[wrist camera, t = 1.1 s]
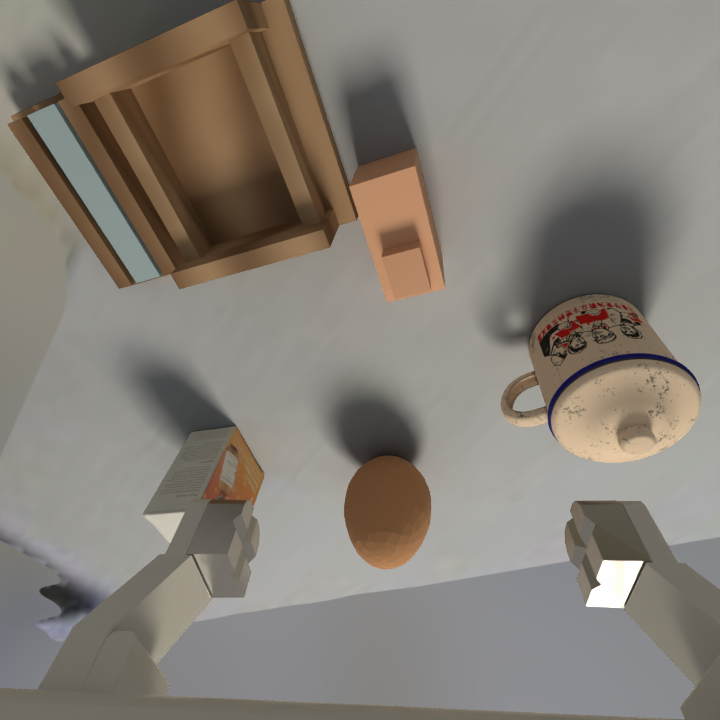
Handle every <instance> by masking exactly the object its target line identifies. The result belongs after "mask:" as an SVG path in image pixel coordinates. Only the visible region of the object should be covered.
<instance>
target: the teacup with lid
mask: <svg viewBox="0 0 720 720" xmlns="http://www.w3.org/2000/svg"><path fill="white" fill-rule="evenodd" d="M529 353H530V358H531V361H532V364H533V367H534V371H533V372H530V373H527V374H525V375H522V376H520V377H518V378H517V379H515V380H514V381H513V382H511V383H510V384H509V385H508V387H507V388H506V389H505V391H504V393H503V395H502V399H501V409H502V412H503V414H504V416H505V418H506V419H507V420H508V421H509V422H510V423H512V424H514V425H517V426H523V427H529V426H535V425H539V424H543V423H546V422H548V425H549V428H550V430H551V432H552V434H553V436H554V437H555V438H556V440H557V441H558V442H559V443H560V444H561V445H562V446H563V447H564V448H566V449H567V450H569V451H570V452H572V453H573V454H575V455H577V456H580V457H582V458H585V459H588V460H592V461H598V462H609V463H616V462H627V461H633V460H638V459H642V458H645V457H648V456H651V455H654V454H656V453H658V452H661V451H663V450H664V449H666V448H668V447H670V446H671V445H673V444H674V443H676V442H677V441H678V440H680V439H681V438H682V437H683V436H684V435H685V434H686V433H687V432H688V431H689V430H690V428H691V427H692V426H693V424H694V423H695V421H696V419H697V417H698V414H699V411H700V406H701V394H700V388H699V384H698V382H697V380H696V378H695V377H694V375H693V374H692V373H691V372H690V370H689V369H687V368H686V367H685V366H684V365H682V364H681V363H679V362H677V360H676V359H675V358H674V356H673V355H672V354H671V352H670V351H669V350H668V348H667V347H666V346H665V345H664V343H663V342H662V341H661V339H660V338H659V337H658V335H657V334H656V333H655V331H654V330H653V329H652V328H651V326H650V325H649V324H648V322H647V321H646V320H645V318H644V317H643V316H642V314H641V313H640V312H639V311H638V310H637V308H635V307H634V306H633V305H632V304H631V303H629V302H627V301H626V300H624V299H621V298H619V297H615V296H610V295H603V294H594V295H585V296H580V297H577V298H573V299H571V300H568V301H566V302H564V303H562V304H560V305H558V306H556V307H555V308H553V309H552V310H551V311H549V312H548V313H547V314H546V315H545V316H544V317H543V318H542V319H541V320H540V321H539V323H538V324H537V326H536V327H535V329H534V331H533V333H532V336H531V339H530V344H529ZM536 385H539V386H540V389H541V392H542V395H543V398H544V401H545V404H546V406H545V407H541V408H538V409H535V410H531V411H526V412H519V411H515V410H512V408H513V404H514V401H515V400H516V398H517V397H518V395H519V394H521V393H522V392H523V391H525V390H527V389H529V388H531V387H534V386H536Z"/></svg>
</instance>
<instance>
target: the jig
mask: <svg viewBox="0 0 720 720" xmlns="http://www.w3.org/2000/svg"><path fill="white" fill-rule="evenodd" d="M56 85H57V86H58V88H59V90H60V91H61V93H60V94H58V95H56V96H54V97H52V98H49V99H47V100H45V101H43V102H41V103H38V104H36V105H34V106H32V107H30V108H27V109H25V110H23V111H21V112H19V113H16V114H14V115H12V116H11V118H12V119H13V121H14V122H11V123H9V124H7V125H8V126H9V128H10V129H11V131H12V132H13V134H14V135H15V137H16V138H17V140H18V141H19V142H20V144H21V145H22V147H23V148H24V150H25V151H26V153H27V154H28V156H29V157H30V159H31V160H32V162H33V163H34V164H35V166H36V167H37V169H38V170H39V172H40V173H41V175H42V176H43V178H44V179H45V181H46V182H47V184H48V185H49V186H50V188H51V189H52V191H53V192H54V194H55V195H56V197H57V198H58V200H59V201H60V203H61V204H62V205H63V207H64V208H65V210H66V211H67V213H68V214H69V216H70V217H71V219H72V220H73V222H74V223H75V225H76V226H77V227H78V229H79V230H80V232H81V233H82V235H83V236H84V238H85V239H86V241H87V242H88V244H89V245H90V247H91V248H92V249H93V251H94V252H95V254H96V255H97V257H98V258H99V260H100V261H101V263H102V264H103V266H104V267H105V269H106V270H107V271H108V273H109V274H110V276H111V277H112V279H113V280H114V282H115V283H116V285H117V286H118V288H119V289H120V288H123V287H128V286H131V285H135V284H138V283H136V282H135V280H134V278H133V277H132V275H131V274H130V272H129V271H128V269H127V268H126V266H125V265H124V263H123V262H122V260H121V259H120V257H119V256H118V254H117V252H116V251H115V249H114V248H113V246H112V245H111V243H110V242H109V240H108V239H107V237H106V236H105V234H104V233H103V231H102V230H101V228H100V226H99V225H98V223H97V222H96V220H95V219H94V217H93V216H92V214H91V213H90V211H89V210H88V208H87V207H86V205H85V204H84V202H83V200H82V199H81V197H80V196H79V194H78V193H77V191H76V190H75V188H74V187H73V185H72V184H71V182H70V181H69V179H68V178H67V176H66V174H65V173H64V171H63V170H62V168H61V167H60V165H59V164H58V162H57V161H56V159H55V158H54V156H53V155H52V153H51V152H50V150H49V148H48V147H47V145H46V144H45V142H44V141H43V139H42V138H41V136H40V135H39V133H38V132H37V130H36V129H35V127H34V126H33V124H32V122H31V121H30V119H29V118H28V116H27V115H30V114H32V113H34V112H36V111H39V110H41V109H43V108H45V107H48V106H50V105H52V104H55V103H59V105H60V106H61V108H62V109H63V111H64V113H65V114H66V116H67V118H68V119H69V121H70V123H71V124H72V126H73V127H74V129H75V131H76V132H77V134H78V136H79V137H80V139H81V141H82V142H83V144H84V145H85V147H86V149H87V150H88V152H89V154H90V155H91V157H92V159H93V160H94V162H95V163H96V165H97V167H98V168H99V170H100V172H101V173H102V175H103V177H104V178H105V180H106V182H107V183H108V185H109V186H110V188H111V190H112V191H113V193H114V195H115V196H116V198H117V200H118V201H119V203H120V204H121V206H122V208H123V209H124V211H125V213H126V214H127V216H128V218H129V219H130V221H131V222H132V224H133V226H134V227H135V229H136V231H137V232H138V234H139V236H140V237H141V239H142V240H143V242H144V244H145V245H146V247H147V249H148V250H149V252H150V254H151V255H152V257H153V258H154V260H155V262H156V263H157V265H158V267H159V268H160V270H161V272H162V273H163V274H162V275H161V276H160V277H162V276H166V275H169V274H171V276H172V278H173V279H174V281H175V283H176V284H177V286H178V288H179V289H181V288H185V287H189V286H192V285H196V284H199V283H203V282H207V281H210V280H214V279H218V278H221V277H225V276H228V275H232V274H236V273H239V272H243V271H246V270H250V269H254V268H257V267H261V266H264V265H268V264H272V263H275V262H279V261H282V260H286V259H290V258H293V257H297V256H300V255H304V254H308V253H311V252H315V251H318V250H322V249H326V248H329V247H330V246H331V243H332V241H333V239H334V236H335V234H336V232H337V229H338V227H339V225H342V224H345V223H349V222H352V221H356V220H357V217H358V212H357V209H356V206H355V203H354V200H353V197H352V194H351V191H350V188H349V184H348V181H347V178H346V175H345V172H344V169H343V166H342V163H341V160H340V157H339V153H338V150H337V147H336V144H335V141H334V138H333V135H332V132H331V129H330V126H329V123H328V120H327V117H326V114H325V111H324V108H323V104H322V101H321V98H320V95H319V92H318V89H317V86H316V83H315V80H314V77H313V74H312V71H311V68H310V65H309V62H308V58H307V55H306V52H305V49H304V46H303V43H302V40H301V37H300V34H299V31H298V28H297V25H296V22H295V19H294V16H293V12H292V9H291V6H290V3H289V0H265V1H263V2H261V3H258V2H251V1H245V0H234V1H232V2H230V3H227V4H225V5H223V6H221V7H219V8H217V9H214V10H212V11H210V12H208V13H206V14H204V15H201V16H199V17H197V18H195V19H193V20H191V21H189V22H186V23H184V24H182V25H180V26H178V27H176V28H173V29H171V30H169V31H167V32H165V33H163V34H161V35H158V36H156V37H154V38H152V39H150V40H148V41H145V42H143V43H141V44H139V45H137V46H135V47H132V48H130V49H128V50H126V51H124V52H122V53H120V54H117V55H115V56H113V57H111V58H109V59H107V60H104V61H102V62H100V63H98V64H96V65H94V66H91V67H89V68H87V69H85V70H83V71H81V72H79V73H76V74H74V75H72V76H70V77H68V78H66V79H63V80H61V81H59V82H57V83H56ZM156 278H159V277H156ZM156 278H153V279H156ZM149 280H152V279H149ZM149 280H146V281H149ZM142 282H145V281H142ZM142 282H139V283H142Z"/></svg>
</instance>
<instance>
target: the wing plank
mask: <svg viewBox="0 0 720 720" xmlns="http://www.w3.org/2000/svg"><path fill="white" fill-rule="evenodd" d="M27 116H28V118H29V119H30V121H31V122H32V124H33V126H34V127H35V129H36V130H37V132H38V133H39V135H40V136H41V138H42V139H43V141H44V142H45V144H46V145H47V147H48V148H49V150H50V152H51V153H52V155H53V156H54V158H55V159H56V161H57V162H58V164H59V165H60V167H61V168H62V170H63V171H64V173H65V174H66V176H67V178H68V179H69V181H70V182H71V184H72V185H73V187H74V188H75V190H76V191H77V193H78V194H79V196H80V197H81V199H82V200H83V202H84V204H85V205H86V207H87V208H88V210H89V211H90V213H91V214H92V216H93V217H94V219H95V220H96V222H97V223H98V225H99V226H100V228H101V230H102V231H103V233H104V234H105V236H106V237H107V239H108V240H109V242H110V243H111V245H112V246H113V248H114V249H115V251H116V252H117V254H118V256H119V257H120V259H121V260H122V262H123V263H124V265H125V266H126V268H127V269H128V271H129V272H130V274H131V275H132V277H133V278H134V280H135V282H136V283H139V282H142V281H146V280H149V279H153V278H156V277H160V276H161V275H162V274H163V273H162V272H161V270H160V268H159V267H158V265H157V263H156V262H155V260H154V258H153V257H152V255H151V254H150V252H149V250H148V249H147V247H146V245H145V244H144V242H143V240H142V239H141V237H140V236H139V234H138V232H137V231H136V229H135V227H134V226H133V224H132V222H131V221H130V219H129V218H128V216H127V214H126V213H125V211H124V209H123V208H122V206H121V204H120V203H119V201H118V200H117V198H116V196H115V195H114V193H113V191H112V190H111V188H110V186H109V185H108V183H107V182H106V180H105V178H104V177H103V175H102V173H101V172H100V170H99V168H98V167H97V165H96V163H95V162H94V160H93V159H92V157H91V155H90V154H89V152H88V150H87V149H86V147H85V145H84V144H83V142H82V141H81V139H80V137H79V136H78V134H77V132H76V131H75V129H74V127H73V126H72V124H71V123H70V121H69V119H68V118H67V116H66V114H65V113H64V111H63V109H62V108H61V106H60V105H59V103H55V104H52V105H50V106H48V107H45V108H43V109H41V110H39V111H36V112H34V113H32V114H30V115H27Z"/></svg>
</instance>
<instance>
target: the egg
mask: <svg viewBox="0 0 720 720" xmlns="http://www.w3.org/2000/svg"><path fill="white" fill-rule="evenodd" d="M344 517H345V522H346V527H347V530H348V533H349V537H350V540H351V542H352V544H353V546H354V547H355V549H356V551H357V553H358V554H359V555H360V556H361V557H362V558H363V559H364V560H365V561H366V562H367V563H369V564H370V565H372V566H374V567H377V568H380V569H393V568H396V567H399V566H402V565H403V564H404V563H406V562H407V561H409V560H410V559H411V558H412V557H413V555H414V554H415V553H416V552H417V550H418V549H419V547H420V546H421V544H422V542H423V540H424V538H425V536H426V534H427V531H428V528H429V525H430V517H431V496H430V492H429V488H428V486H427V484H426V481H425V479H424V477H423V476H422V474H421V473H420V472H419V471H418V470H417V469H416V467H415V466H414V465H412V464H411V463H410V462H408V461H406V460H404V459H402V458H400V457H397V456H392V455H388V456H380V457H376V458H374V459H372V460H370V461H368V462H367V463H365V464H364V465H363V466H362V467H361V468H359V469H358V470H357V472H356V473H355V475H354V476H353V478H352V479H351V481H350V483H349V485H348V489H347V493H346V498H345V505H344Z"/></svg>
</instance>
